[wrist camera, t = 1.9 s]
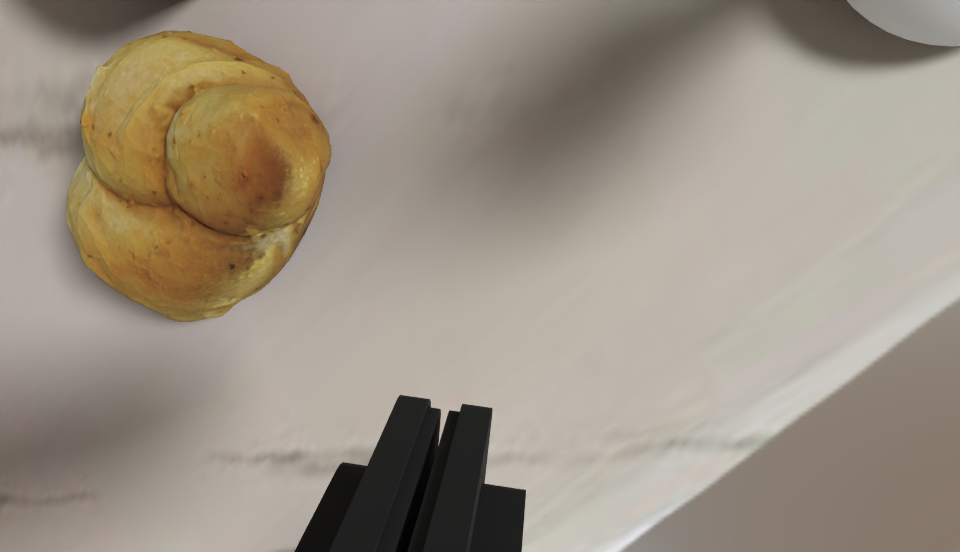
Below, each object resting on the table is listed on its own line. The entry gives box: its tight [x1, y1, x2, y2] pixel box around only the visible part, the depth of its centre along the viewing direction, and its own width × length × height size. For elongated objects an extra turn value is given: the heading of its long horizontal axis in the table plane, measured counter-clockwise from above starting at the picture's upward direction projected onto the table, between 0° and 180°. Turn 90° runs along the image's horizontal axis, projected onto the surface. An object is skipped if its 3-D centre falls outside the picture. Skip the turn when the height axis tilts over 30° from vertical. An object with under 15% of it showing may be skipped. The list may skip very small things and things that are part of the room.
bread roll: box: [66, 31, 331, 322], centre depth 25 cm, size 13×10×8 cm
